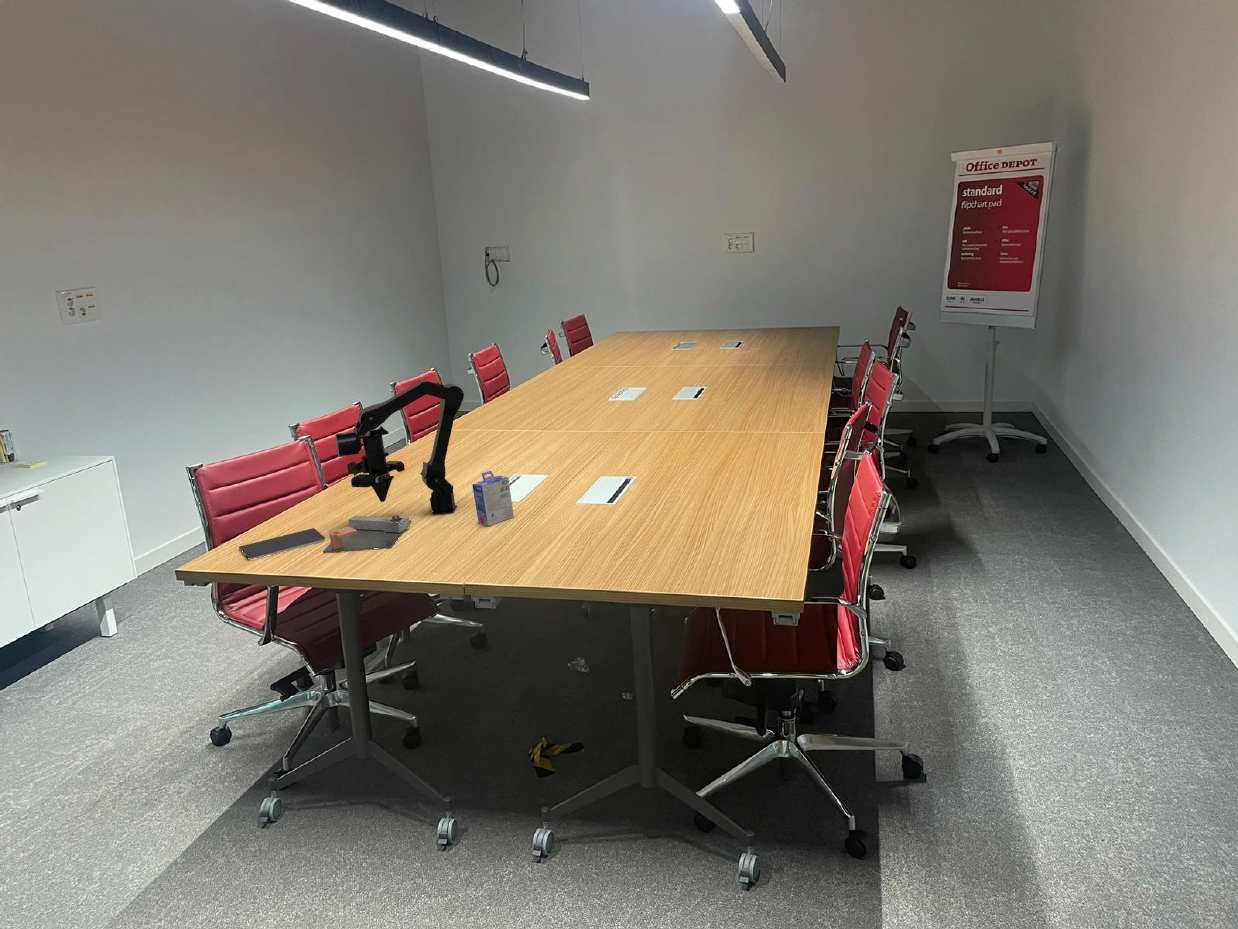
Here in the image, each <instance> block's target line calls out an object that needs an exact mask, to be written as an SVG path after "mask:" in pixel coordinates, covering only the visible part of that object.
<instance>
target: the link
mask: <svg viewBox="0 0 1238 929" xmlns="http://www.w3.org/2000/svg"><path fill="white" fill-rule="evenodd" d="M399 519H400V521H398V522H393V521H392V516H390V517H388V516H387V517H386V516H369V515H368V516H367V515H354V516H352V517H351V518H349V519H348V525H349V527H351V528H353V529H365V530H383V531H385V532H399V533H400V532H401V531H403V530H405V529H406V530H407V529H409V528H410V527H411V524H410V522H409V520H410V518H409V517H408V516H407V517H406V516H399ZM406 530H405V531H406Z"/></svg>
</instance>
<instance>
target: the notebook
mask: <svg viewBox="0 0 1238 929" xmlns="http://www.w3.org/2000/svg"><path fill="white" fill-rule="evenodd" d="M325 539H326V536H324V535H323V534H322V533H321V532H319V531H318V530H317V529H316V528H314V527H312V528H309V529H305V530H301V531H296V532H292V533H288V534H284V535H281V536H277V537H272V538H268V539H264V540H261V541H255V542H252V543H249V544H245V545H240V546H239V547H238V548H239V550H240V549H241V550H240V551H241V552H242V551H243V552H242V554H245V555H246V556H247V557H248V558H249V559H254V558H260V557H264V556H267V555H271V556H274V555H273V554H275V555H278V554H277V553H279V554H281V553H280V552H283V553H285V552H284V551H287V552H290V550H291V551H295V550H297V548H299V549H301V548H302V547H303V548H305V547H310V546H313V545H312V544H314V545H317V544H321V542H322V543H324V541H325V542H326V540H325ZM309 545H310V546H309ZM294 549H295V550H294ZM245 555H244V556H245ZM246 556H245V557H246ZM247 557H246V558H247ZM267 557H268V556H267ZM248 558H247V559H248ZM264 558H265V557H264ZM249 559H248V560H249ZM260 559H261V558H260Z"/></svg>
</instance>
